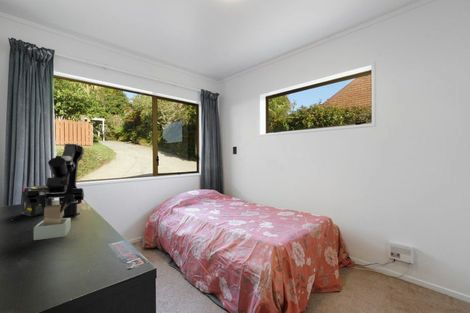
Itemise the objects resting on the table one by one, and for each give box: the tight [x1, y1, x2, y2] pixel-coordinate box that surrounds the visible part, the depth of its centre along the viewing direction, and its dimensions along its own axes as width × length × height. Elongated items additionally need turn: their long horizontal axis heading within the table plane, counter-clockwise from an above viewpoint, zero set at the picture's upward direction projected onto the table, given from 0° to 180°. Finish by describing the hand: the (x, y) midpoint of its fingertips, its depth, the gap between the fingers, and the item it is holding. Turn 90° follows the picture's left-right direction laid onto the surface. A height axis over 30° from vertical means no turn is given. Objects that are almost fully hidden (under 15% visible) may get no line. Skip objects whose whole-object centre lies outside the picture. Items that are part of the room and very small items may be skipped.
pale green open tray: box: [33, 217, 72, 241], centre depth 89 cm, size 10×10×5 cm
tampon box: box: [21, 185, 53, 217], centre depth 121 cm, size 11×9×15 cm
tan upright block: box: [43, 204, 64, 226], centre depth 89 cm, size 4×5×9 cm
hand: (52, 212), depth 88 cm, fingers closed on tan upright block, 5 cm apart
